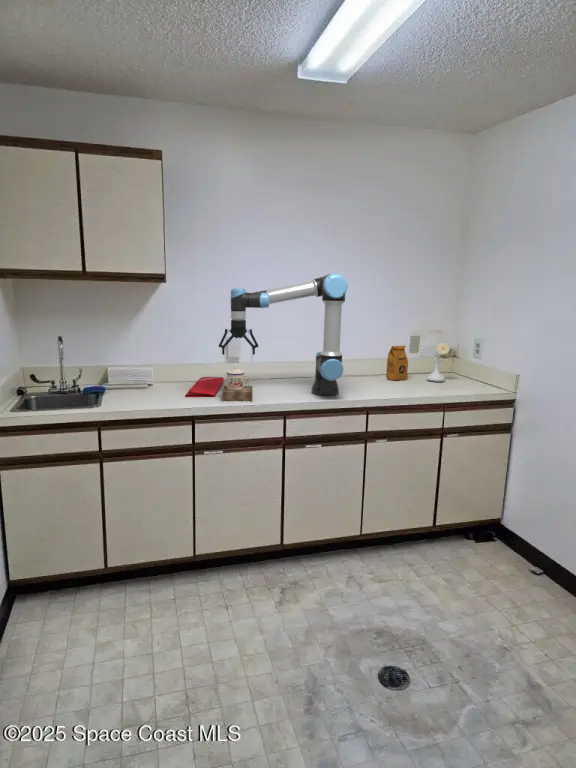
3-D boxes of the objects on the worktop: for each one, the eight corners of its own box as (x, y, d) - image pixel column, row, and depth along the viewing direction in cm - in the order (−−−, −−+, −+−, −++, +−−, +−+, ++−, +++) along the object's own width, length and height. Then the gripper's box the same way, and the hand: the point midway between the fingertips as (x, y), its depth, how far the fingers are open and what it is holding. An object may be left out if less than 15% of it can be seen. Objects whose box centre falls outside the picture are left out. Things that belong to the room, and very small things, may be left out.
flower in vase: (423, 381, 325) (426, 342, 320) (430, 378, 334) (433, 340, 329) (443, 384, 317) (447, 344, 312) (450, 381, 326) (453, 342, 321)
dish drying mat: (184, 398, 266) (184, 391, 266) (198, 382, 306) (198, 376, 306) (214, 398, 266) (214, 391, 266) (224, 382, 306) (224, 376, 306)
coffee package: (409, 380, 325) (411, 346, 321) (393, 381, 320) (395, 346, 316) (399, 377, 334) (402, 344, 330) (383, 378, 329) (386, 344, 325)
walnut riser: (252, 395, 275) (252, 385, 274) (252, 401, 260) (252, 392, 259) (224, 394, 274) (224, 385, 273) (222, 401, 259) (222, 391, 258)
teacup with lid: (227, 391, 260) (227, 368, 258) (225, 387, 269) (225, 365, 266) (250, 390, 263) (251, 368, 261) (247, 386, 272) (248, 365, 269)
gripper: (262, 319, 263) (262, 359, 268) (214, 318, 261) (214, 359, 266) (263, 320, 256) (263, 362, 260) (213, 319, 254) (213, 362, 258)
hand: (238, 361), depth 263 cm, fingers open, 13 cm apart
